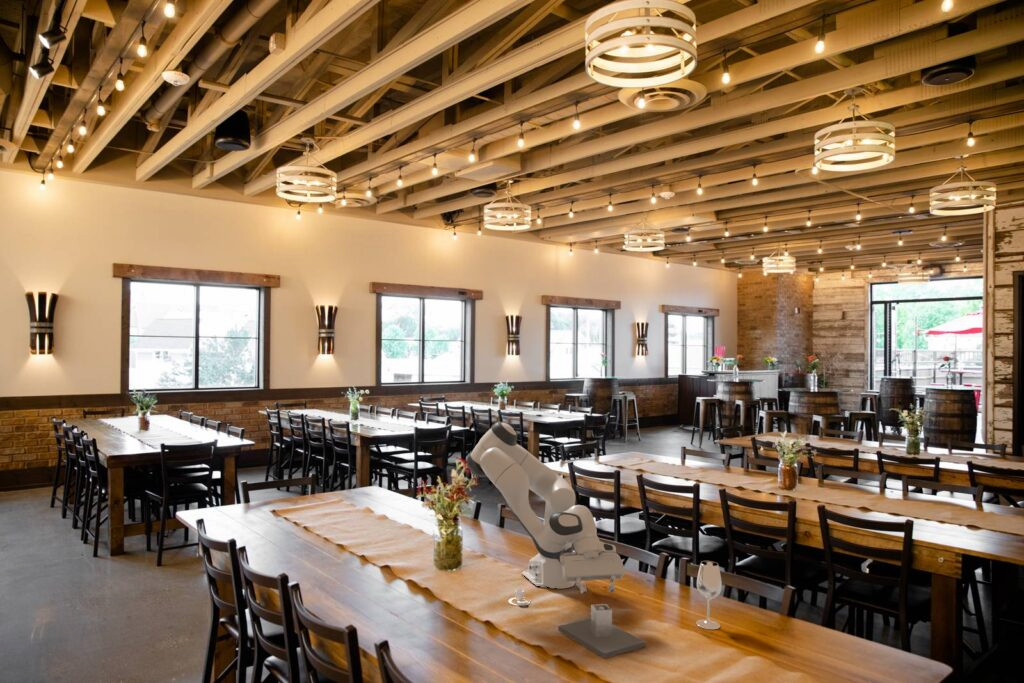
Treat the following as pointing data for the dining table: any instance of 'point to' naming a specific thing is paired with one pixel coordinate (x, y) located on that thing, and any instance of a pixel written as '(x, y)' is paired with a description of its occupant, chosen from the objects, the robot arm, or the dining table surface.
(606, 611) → the steel sleeve
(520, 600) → the teacup and saucer
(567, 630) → the shaft plate
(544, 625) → the dining table surface
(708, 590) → the wineglass
